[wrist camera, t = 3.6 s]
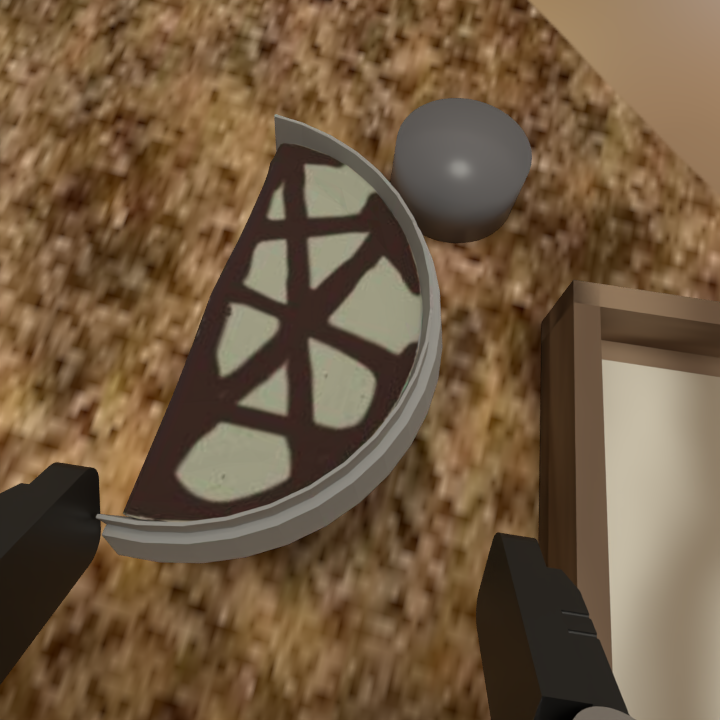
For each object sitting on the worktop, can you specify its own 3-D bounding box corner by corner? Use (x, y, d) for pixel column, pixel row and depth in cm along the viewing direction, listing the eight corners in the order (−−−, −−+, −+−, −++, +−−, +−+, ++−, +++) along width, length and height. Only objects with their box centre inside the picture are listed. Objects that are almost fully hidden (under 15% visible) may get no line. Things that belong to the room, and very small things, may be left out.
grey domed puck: (382, 234, 27) (388, 191, 24) (397, 138, 29) (404, 89, 26) (509, 253, 27) (530, 212, 24) (513, 155, 29) (532, 108, 26)
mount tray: (535, 791, 18) (580, 830, 15) (541, 322, 25) (573, 279, 22) (880, 845, 18) (1000, 896, 15) (791, 359, 25) (860, 322, 22)
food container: (361, 623, 20) (391, 634, 11) (193, 574, 20) (82, 545, 11) (433, 321, 25) (496, 152, 16) (297, 286, 25) (281, 100, 16)
